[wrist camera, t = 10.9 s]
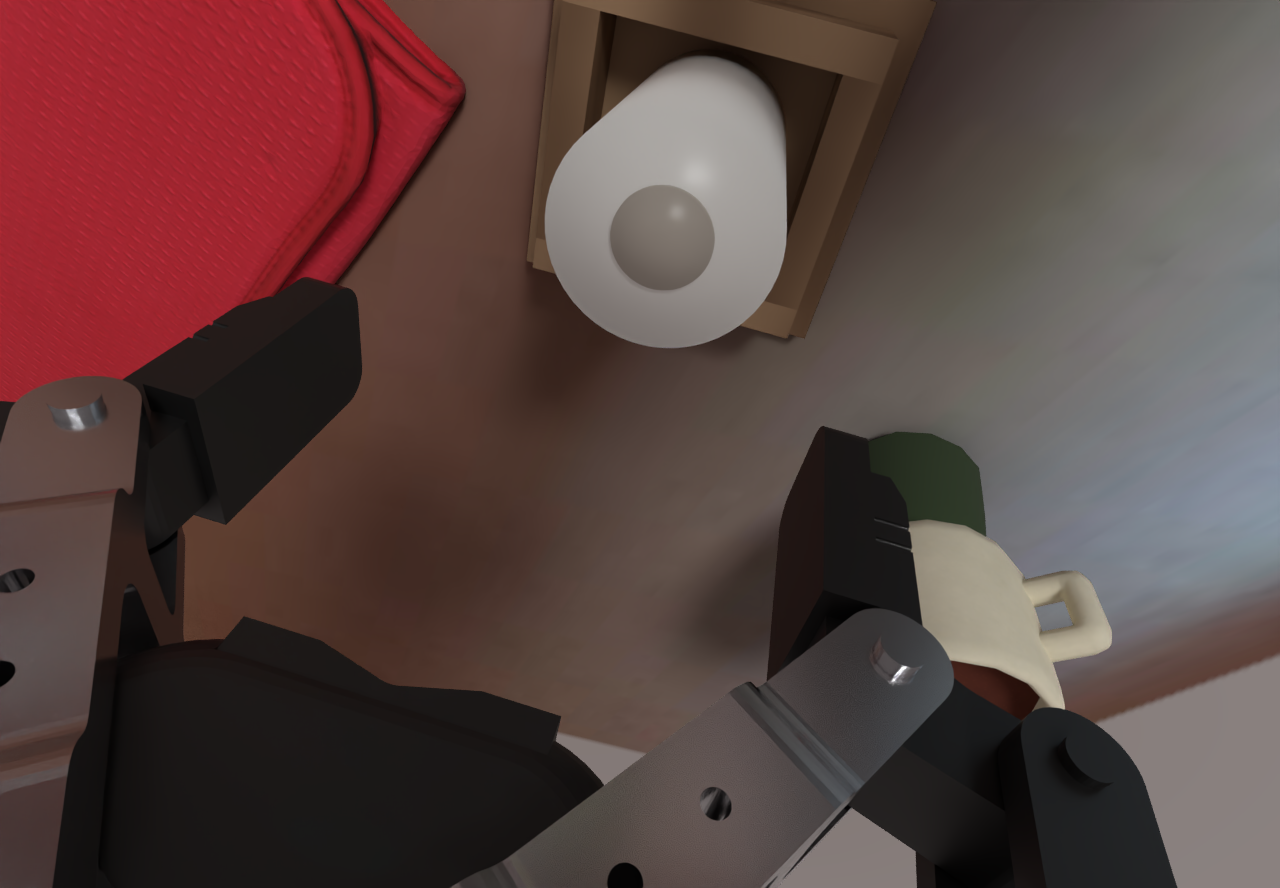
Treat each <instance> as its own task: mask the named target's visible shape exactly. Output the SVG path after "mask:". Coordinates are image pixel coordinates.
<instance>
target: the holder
mask: <svg viewBox="0 0 1280 888" xmlns="http://www.w3.org/2000/svg"><path fill="white" fill-rule="evenodd" d="M936 4H937V2H935V1H933V0H554V7H553V16H552V26H551V35H550V45H549V54H548V64H547V73H546V82H545V92H544V101H543V111H542V120H541V130H540V139H539V149H538V158H537V168H536V177H535V186H534V196H533V205H532V215H531V224H530V234H529V243H528V253H527V261H529V262H533V268H536V269H540V270H543V271H547V272H551V273H554V274H556V273H555V270H554V268H553V266H552V263H551V260H550V256H549V253H548V249H547V243H546V236H545V209H546V201H547V197H548V193H549V189H550V185H551V183H552V180H553V178H554V175H555V172H556V170H557V169H558V167H559V165H560V163H561V161H562V160H563V158H564V156H565V155H566V154H567V152H568V151H569V150H570V149H571V147H572V146H573V145H574V144H575V143H576V142H577V141H578V140H579V139H580V138H581V137H582V136H583V135H584V134H585V133H586V132H587V131H588V130H589V129H590V128H591V127H593V126H594V125H595V124H596V123H597V122H598V121H599V120H600V119H602V118H603V117H604V116H605V115H606V114H607V113H608V112H610V111H611V110H612V109H613V108H614V107H615V106H616V105H618V104H619V103H620V102H621V101H622V100H623V99H624V98H625V97H627V96H628V95H629V94H630V93H631V92H632V91H633V90H635V89H636V88H637V87H638V86H639V85H640V84H641V83H642V82H644V81H645V80H646V79H647V78H648V77H649V76H650V75H652V74H653V73H654V72H655V71H656V70H657V69H658V68H660V67H661V66H662V65H664V64H665V63H666V62H668V61H669V60H671V59H673V58H675V57H677V56H679V55H681V54H684V53H687V52H690V51H695V50H701V49H716V50H723V51H727V52H731V53H734V54H736V55H739V56H741V57H743V58H745V59H746V60H748V61H750V62H751V63H753V64H754V65H755V66H756V67H758V68H759V69H760V70H761V71H762V72H763V73H764V74H765V75H766V77H767V78H768V79H769V81H770V82H771V83H772V85H773V86H774V88H775V90H776V92H777V94H778V96H779V99H780V101H781V104H782V107H783V112H784V116H785V125H786V197H787V235H786V248H785V253H784V259H783V262H782V265H781V269H780V272H779V275H778V277H777V279H776V281H775V283H774V285H773V287H772V289H771V291H770V292H769V294H768V296H767V297H766V299H765V300H764V302H763V303H762V304H761V305H760V306H759V308H758V309H757V310H756V311H755V312H754V313H753V314H752V315H751V316H750V317H749V318H748V319H747V320H746V321H745V322H743V323H742V324H741V325H740V326H743V327H747V328H750V329H754V330H758V331H761V332H765V333H768V334H772V335H775V336H779V337H783V338H786V339H787V337H788V334H790V335H794V336H797V337H801V338H804V339H805V336H806V334H807V331H808V328H809V326H810V323H811V321H812V318H813V316H814V313H815V311H816V308H817V306H818V303H819V301H820V298H821V295H822V293H823V290H824V288H825V285H826V283H827V280H828V278H829V275H830V273H831V270H832V268H833V265H834V262H835V260H836V257H837V255H838V252H839V250H840V247H841V245H842V242H843V240H844V237H845V235H846V232H847V229H848V227H849V224H850V222H851V219H852V217H853V214H854V212H855V209H856V207H857V204H858V202H859V199H860V196H861V194H862V191H863V189H864V186H865V184H866V181H867V179H868V176H869V174H870V171H871V169H872V166H873V163H874V161H875V158H876V156H877V153H878V151H879V148H880V146H881V143H882V141H883V138H884V136H885V133H886V130H887V128H888V125H889V123H890V120H891V118H892V115H893V113H894V110H895V108H896V105H897V103H898V100H899V97H900V95H901V92H902V90H903V87H904V85H905V82H906V80H907V77H908V75H909V72H910V70H911V67H912V64H913V62H914V59H915V57H916V54H917V52H918V49H919V47H920V44H921V42H922V39H923V37H924V34H925V31H926V29H927V26H928V24H929V21H930V19H931V16H932V14H933V11H934V9H935V6H936Z"/></svg>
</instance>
